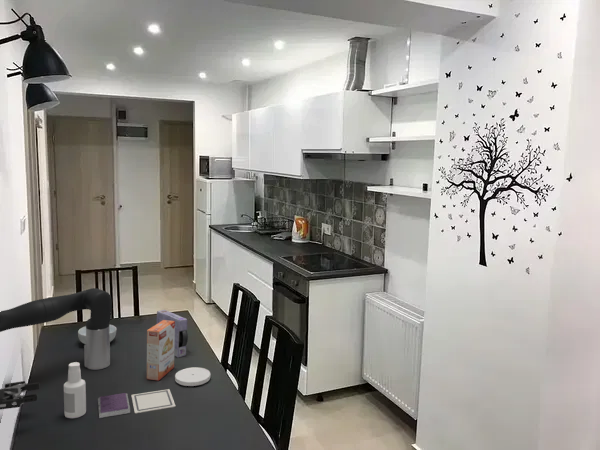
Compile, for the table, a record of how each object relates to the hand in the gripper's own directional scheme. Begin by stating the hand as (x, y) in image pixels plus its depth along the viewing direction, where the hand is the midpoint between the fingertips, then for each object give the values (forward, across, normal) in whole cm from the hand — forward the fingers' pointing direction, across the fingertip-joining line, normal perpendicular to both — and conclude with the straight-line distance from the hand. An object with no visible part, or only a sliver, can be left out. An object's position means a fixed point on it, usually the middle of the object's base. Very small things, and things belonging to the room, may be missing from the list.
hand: (38, 391), depth 162 cm
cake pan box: (+51, +45, +10) cm, 69 cm away
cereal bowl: (+20, +66, +10) cm, 70 cm away
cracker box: (+43, +23, +10) cm, 50 cm away
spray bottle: (+11, 0, +10) cm, 15 cm away
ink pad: (+24, 0, +10) cm, 26 cm away
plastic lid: (+54, +13, +10) cm, 57 cm away
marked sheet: (+37, 0, +10) cm, 38 cm away
